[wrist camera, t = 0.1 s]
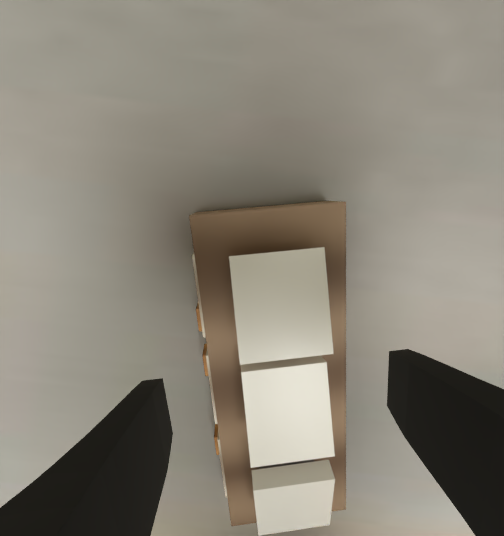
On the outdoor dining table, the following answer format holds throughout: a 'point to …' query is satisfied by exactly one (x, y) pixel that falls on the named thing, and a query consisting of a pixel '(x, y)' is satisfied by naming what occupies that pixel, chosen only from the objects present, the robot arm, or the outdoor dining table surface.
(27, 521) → the robot arm
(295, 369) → the switch
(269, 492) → the switch
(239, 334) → the switch
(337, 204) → the switch unit
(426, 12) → the outdoor dining table surface
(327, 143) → the outdoor dining table surface
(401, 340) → the outdoor dining table surface
